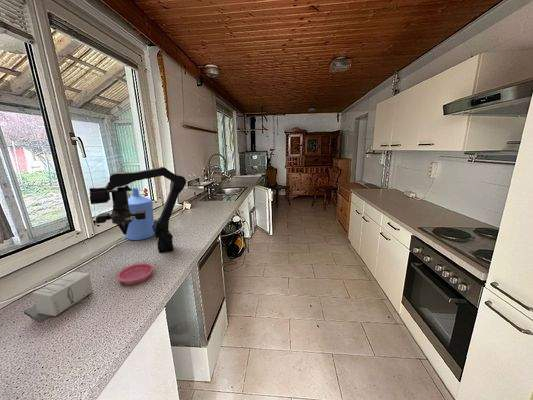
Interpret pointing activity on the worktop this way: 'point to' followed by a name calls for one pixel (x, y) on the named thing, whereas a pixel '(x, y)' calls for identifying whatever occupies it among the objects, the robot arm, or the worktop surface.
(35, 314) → the dark rubber mat
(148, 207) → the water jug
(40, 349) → the worktop surface
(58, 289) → the supplement box
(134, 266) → the saucer
